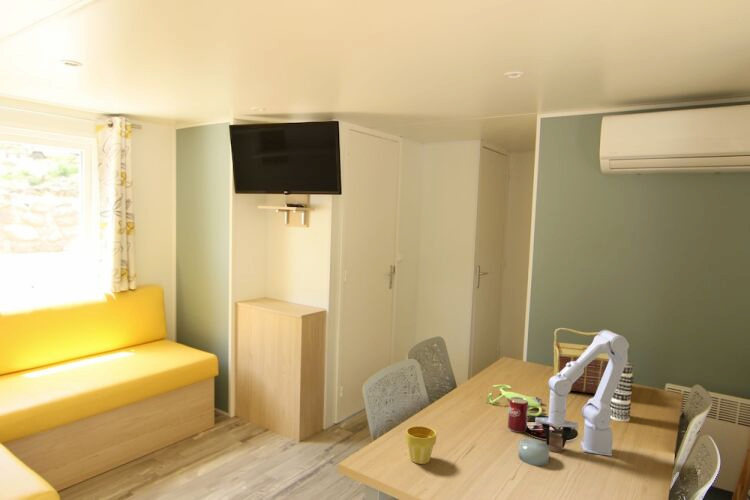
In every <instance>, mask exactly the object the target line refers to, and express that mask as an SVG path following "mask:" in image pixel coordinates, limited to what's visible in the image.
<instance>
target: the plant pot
mask: <svg viewBox="0 0 750 500" xmlns="http://www.w3.org/2000/svg"><path fill="white" fill-rule="evenodd" d="M405 442H406V444H407V446H408V447H407V448H408V452H409V454H408V455H409V459H410V461H411V462H413V463H415V464H418V465H426V464H428V463H429V462H430V460H431V456H432V451H433V450H434V449H433V448H434V446H435V445H436V442H437V432H436V431H435V429H433V428H431V427H429V426H424V425H413V426H410V427H408V428H406V431H405Z"/></svg>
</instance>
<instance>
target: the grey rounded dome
mask: <svg viewBox="0 0 750 500" xmlns="http://www.w3.org/2000/svg"><path fill="white" fill-rule="evenodd" d="M518 458H519V460H520V461H522V462H523V463H525V464H527V465H530V466H536V467H544V466H546V465H548V464H549V462H550V461H549V460H550V451H549V446H548V445H547V444H546V442H545V441H542V440H539V439H535V438H523V439H520V441H519V446H518Z"/></svg>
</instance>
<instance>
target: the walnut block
mask: <svg viewBox="0 0 750 500" xmlns="http://www.w3.org/2000/svg"><path fill="white" fill-rule="evenodd" d="M562 446H563V438H562V433H555V432H550V433H549V452H552V453H553V452H554V453H557V454H563V448H562Z"/></svg>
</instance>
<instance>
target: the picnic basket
mask: <svg viewBox="0 0 750 500" xmlns="http://www.w3.org/2000/svg"><path fill="white" fill-rule="evenodd" d="M559 331H569V332H571V333H573V334H575V335H579V336H586V337H595V336H597V335H598V334H599V333H600V332H601V331H598V332H597V331H596V332H595V331H594V332H583V331H579V330H575V329H571V328H565V327H559V328H557V329H555V331H554V332H553V333H554V334H553V335H554V341H553V376H555V375H557V373H559V372H561V371H562V370H563V369H564V368H565V367H566V364H567V363H570V362H571V361H577V359H578V358H579V357H580V356H581V355H582V354H583V353H584V352H585V350H586V349H587V348H588V347H589V346H590V345H591V344H578V343H570V342H559V341H558V332H559ZM609 360H610V357H609V355H608V354H600V355H598V356H597V357H596V358H595V359H594V360H592V361H591V362H590V363H589V364H588V365H587V366H585V367H584V373H583V374H582V375H581V376H580V377H579V378H578V379H577V380H576V381H575V382H574V383H573V384H572V386H571V390H570V392H571V391H572V392H580V393H585V394H586V393H587V394H593V395H595V394H596V391H597V389H598V386H599V384H600V382H601V379H602V377H603V374H604V372H605V369H606V367H607V364H608V362H609Z"/></svg>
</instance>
